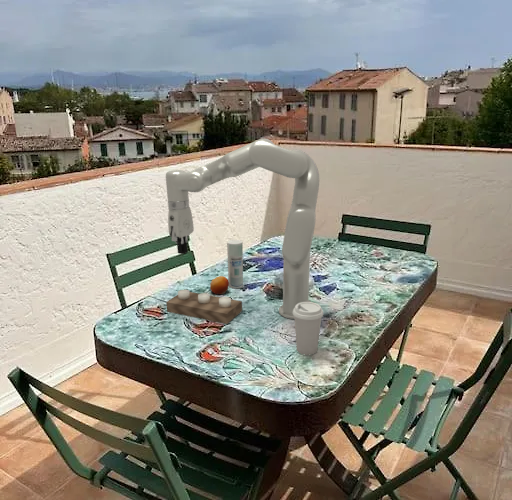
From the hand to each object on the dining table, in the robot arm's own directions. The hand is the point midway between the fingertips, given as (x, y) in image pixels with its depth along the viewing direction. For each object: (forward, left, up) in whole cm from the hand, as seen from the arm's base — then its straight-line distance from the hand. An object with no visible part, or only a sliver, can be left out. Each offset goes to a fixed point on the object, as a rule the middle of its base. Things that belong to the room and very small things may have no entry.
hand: (182, 253), depth 171 cm
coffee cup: (-54, +12, -22) cm, 59 cm away
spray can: (-8, -28, -22) cm, 37 cm away
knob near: (-18, 0, -21) cm, 27 cm away
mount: (-9, 0, -22) cm, 24 cm away
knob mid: (-9, 0, -21) cm, 22 cm away
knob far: (0, 0, -21) cm, 21 cm away
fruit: (-5, -19, -22) cm, 30 cm away
